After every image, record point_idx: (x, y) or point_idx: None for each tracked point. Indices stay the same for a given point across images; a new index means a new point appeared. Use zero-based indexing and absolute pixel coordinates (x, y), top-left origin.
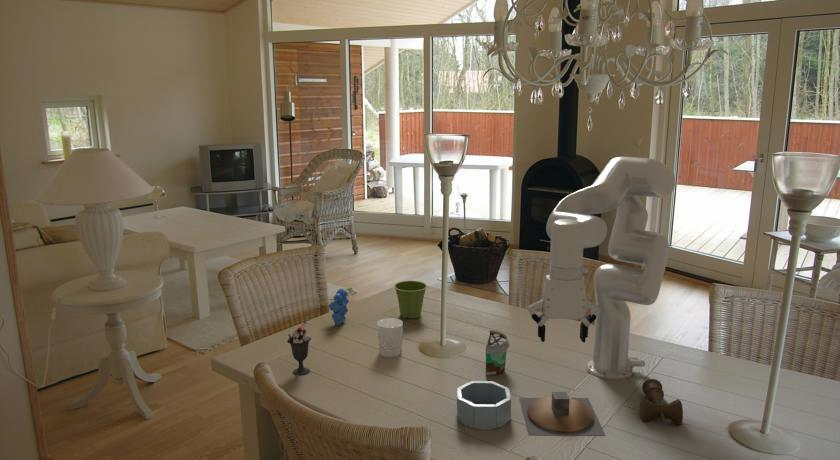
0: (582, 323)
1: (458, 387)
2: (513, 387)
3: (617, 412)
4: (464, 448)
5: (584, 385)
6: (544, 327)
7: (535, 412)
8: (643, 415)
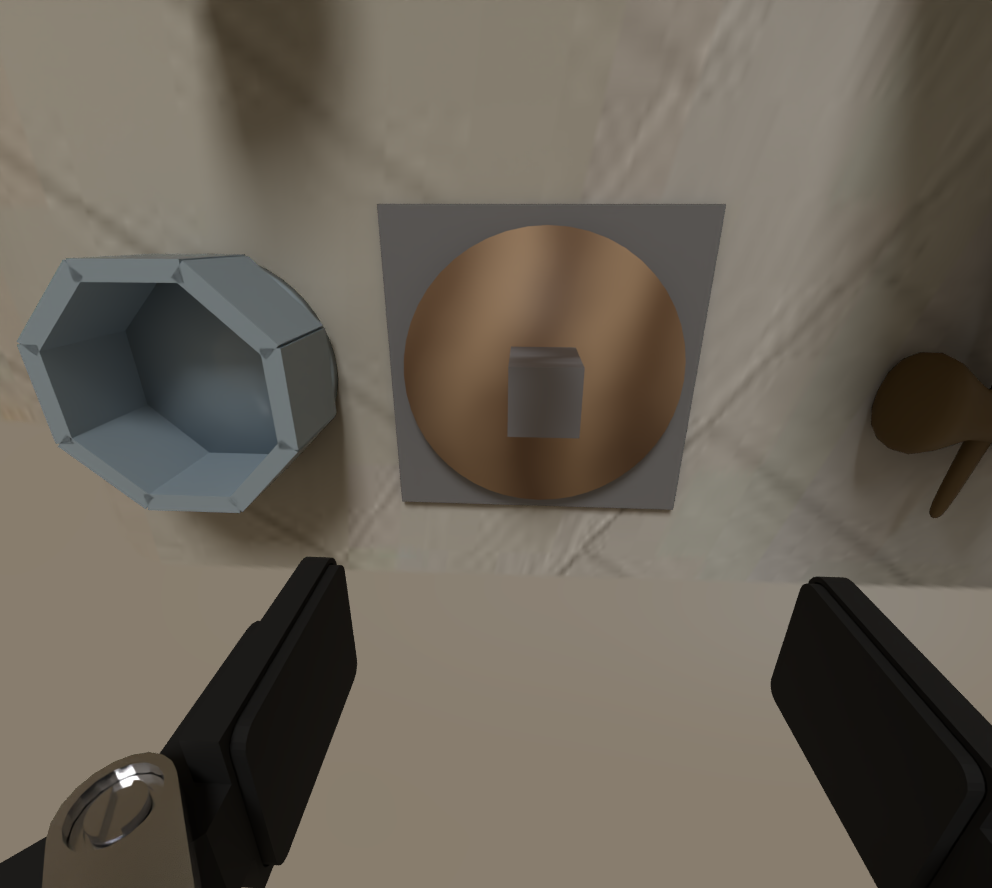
0: (973, 880)
1: (20, 335)
2: (352, 48)
3: (807, 331)
4: (205, 548)
5: (775, 6)
6: (268, 873)
7: (436, 380)
8: (886, 445)
